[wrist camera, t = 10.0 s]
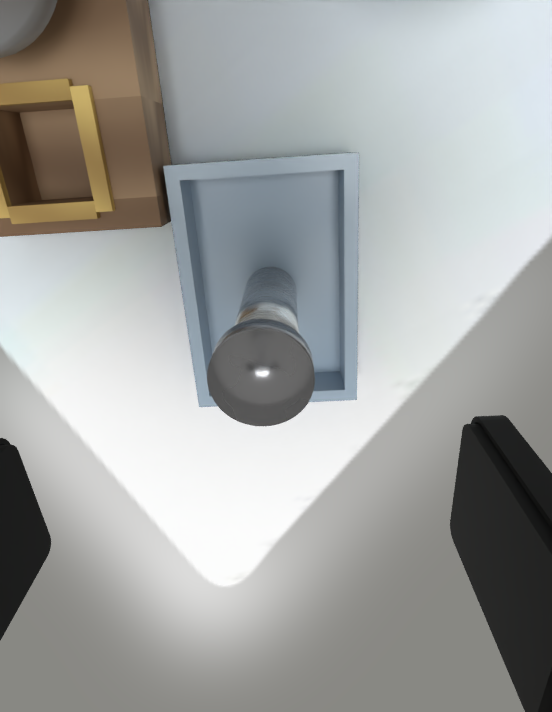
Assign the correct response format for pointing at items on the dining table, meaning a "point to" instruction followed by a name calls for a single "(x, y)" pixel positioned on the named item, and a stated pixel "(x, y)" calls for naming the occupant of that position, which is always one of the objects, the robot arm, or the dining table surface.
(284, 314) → the lock pin
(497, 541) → the robot arm
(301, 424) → the dining table surface
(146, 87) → the block
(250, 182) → the tray
